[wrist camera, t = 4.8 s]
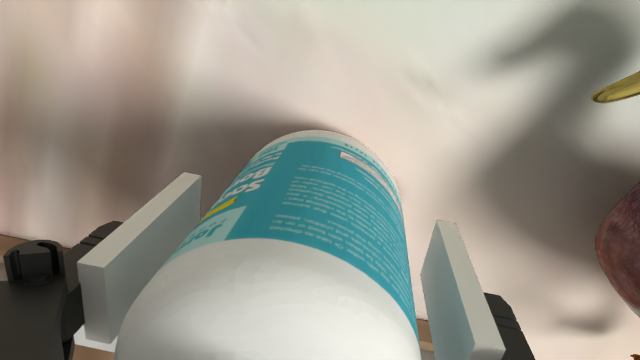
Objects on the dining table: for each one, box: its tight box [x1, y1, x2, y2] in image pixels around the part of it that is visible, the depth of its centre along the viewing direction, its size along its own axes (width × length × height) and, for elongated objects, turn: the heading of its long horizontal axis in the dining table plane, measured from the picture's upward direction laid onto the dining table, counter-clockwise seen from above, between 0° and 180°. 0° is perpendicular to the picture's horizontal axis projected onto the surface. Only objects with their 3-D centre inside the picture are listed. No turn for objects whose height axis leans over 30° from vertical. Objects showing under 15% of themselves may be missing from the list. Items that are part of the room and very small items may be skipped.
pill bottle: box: [114, 130, 421, 360], centre depth 13 cm, size 8×7×14 cm
